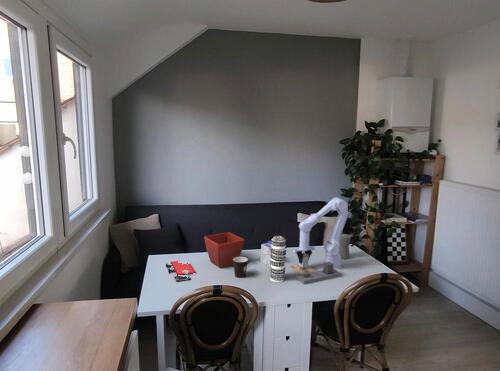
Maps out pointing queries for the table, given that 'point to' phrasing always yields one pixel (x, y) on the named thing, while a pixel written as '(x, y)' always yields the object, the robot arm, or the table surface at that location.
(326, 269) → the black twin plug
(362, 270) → the table surface
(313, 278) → the power strip
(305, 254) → the grey plug
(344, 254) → the coffeepot
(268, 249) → the ink cartridge box
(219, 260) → the plant pot
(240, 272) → the coffee mug
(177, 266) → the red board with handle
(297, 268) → the cork mat
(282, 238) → the decorative candle
